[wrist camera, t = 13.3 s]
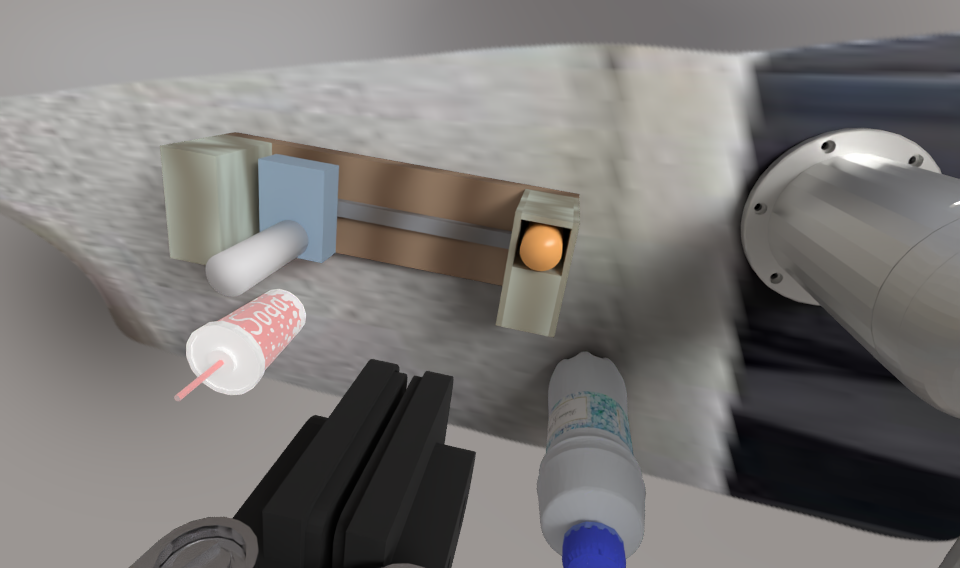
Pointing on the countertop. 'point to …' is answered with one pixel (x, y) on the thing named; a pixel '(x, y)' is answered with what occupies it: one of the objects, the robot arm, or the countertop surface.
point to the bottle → (590, 467)
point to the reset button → (541, 246)
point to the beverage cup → (243, 343)
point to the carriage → (282, 224)
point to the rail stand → (381, 217)
